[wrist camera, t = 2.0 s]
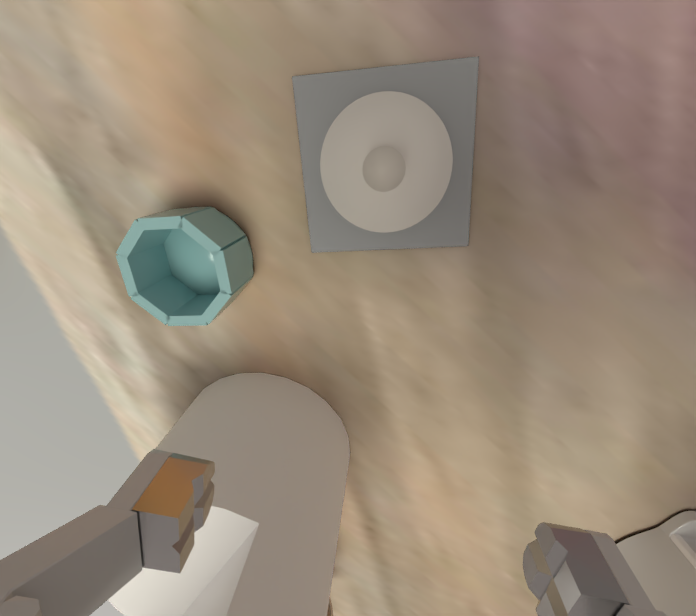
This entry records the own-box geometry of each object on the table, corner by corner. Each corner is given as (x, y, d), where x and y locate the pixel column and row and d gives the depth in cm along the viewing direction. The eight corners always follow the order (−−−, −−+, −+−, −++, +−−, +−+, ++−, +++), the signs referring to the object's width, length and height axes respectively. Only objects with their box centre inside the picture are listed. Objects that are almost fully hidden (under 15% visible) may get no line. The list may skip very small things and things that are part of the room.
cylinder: (383, 432, 36) (359, 1138, 10) (298, 525, 42) (154, 1091, 17) (227, 340, 34) (-297, 939, 8) (163, 453, 40) (-234, 975, 15)
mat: (477, 57, 23) (479, 56, 23) (467, 245, 28) (468, 245, 28) (293, 77, 25) (292, 76, 25) (312, 251, 29) (311, 252, 29)
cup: (243, 203, 29) (215, 213, 24) (260, 299, 32) (238, 324, 27) (149, 209, 30) (104, 220, 25) (174, 301, 33) (138, 326, 28)
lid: (452, 86, 24) (464, 74, 20) (448, 226, 27) (457, 239, 23) (315, 100, 25) (301, 91, 21) (329, 233, 28) (319, 246, 25)
